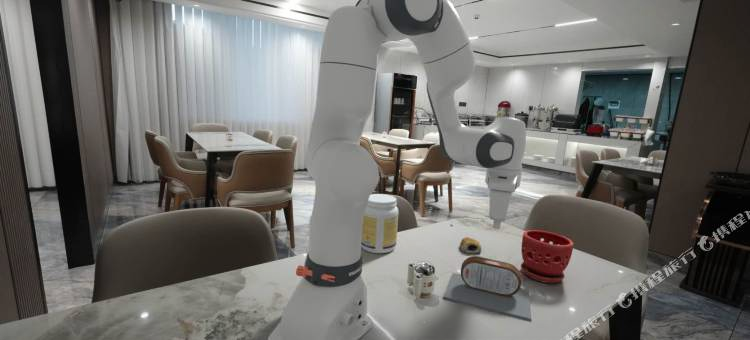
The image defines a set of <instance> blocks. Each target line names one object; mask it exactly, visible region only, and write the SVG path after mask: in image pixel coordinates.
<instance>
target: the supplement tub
mask: <svg viewBox="0 0 750 340" xmlns="http://www.w3.org/2000/svg"><path fill="white" fill-rule="evenodd" d="M397 204H398V201H397V198H396V197H395V196H393V195H390V194H384V193H383V194H382V193H372V194H371V195H370V196H369V200H368V203H367V207H366V211H365V214H364V219H363V225H362V241H361V249H363V250H364V251H366V252H368V253H372V254H386V253H390V252H392V251H394V250H395V249H396V247H397V239H398V228H399V227H398V225H399V223H398V222H399V214H400V213H399V208H398V207H397Z"/></svg>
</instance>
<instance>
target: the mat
mask: <svg viewBox="0 0 750 340" xmlns="http://www.w3.org/2000/svg"><path fill="white" fill-rule="evenodd" d="M450 276H451V277H450V279H449V282H448V284H447V286H446V288H445V292H444V294H443V299H444V300H448V301H453V302H456V303H460V304H464V305H468V306H471V307H475V308H479V309H484V310H487V311H491V312H495V313H498V314H503V315H506V316H511V317H515V318H518V319H523V320H526V321H530V322H531V321H532V311H531V299H530V290H529V289H526V288H522V287H521V288H520V290H519V291H518V292H517V293H516V294H514V295H512V296H501V295H497V294H493V293H489V292H485V291H481V290H477V289H473V288H471V287H469V286H468V285H466V284H465V283H464V281H463V280H462V278H461V273H456V272H452V274H451V275H450Z"/></svg>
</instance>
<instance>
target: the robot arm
mask: <svg viewBox="0 0 750 340" xmlns="http://www.w3.org/2000/svg"><path fill="white" fill-rule="evenodd" d="M406 39H409V41H411V43H412V44H413V45H414V46H415V48H416V50H417V54H418V56H419V59H420V61H421V65H422V66H423V69H424V72H425V76H426V80H427V81H426V93H427V97H428V100H429V104H430V107H431V111H432V114H433V117H434V120H435V126H436V127H437V131H438V137H439V150H440V152H441V155H442V157H443V158H444V159H445V160H446V161H448V162H451V163H456V164H464V165H467V166H471V167H477V168H482V169H486V171H485V178H484V183H486V185H487V189H488V190H489V200H488V201H489V203H488V204H489V207H488V209H489V210H488V211H489V213H488V215H489V220H491V221H493V223H492V224H493V225H492V228H493V229H496V230H500V229H501V223H502V222H505V221H506V218H507V215H508V211H509V208H510V204H511V200H512V195H513V193H515V192H516V189H518V188H519V187H520V186H521V178H522V173H523V165H522V164H523V163H522V160H523V157H524V155H525V151H526V141H527V127H526V123H525V121H523V120H522V119H519V118H517V117H511V116H505V115H504V116H503V115H502V116H501V115H500V116H497V117H495V118H494V121H492V123H490V124H488V125H487V126H484V127H482V128H473V127H468V126H466V125H464V124H463V123H462V122H461V120H460V117H459V113H458V110H457V105H456V101H455V92H456V91H457V90H459V89H460V88H462V87H463V86H464V85H466V83H467V82H468V81H469V80H470V79H471V77H472V76H473V74H474V71H475V69H476V57H475V53H474V50H473V47H472V44H471V42H470V38H469V35H468V33H467V30H466V28H465V26H464V24H463V21H462V20H461V17H460V15H459V14H458V11H457V10H456V8H455V7H454V5H453V3H452V2H451V1H450V0H358V1H357V2H356V4H355V5H346V6H345V5H344V6H341V7H338V8H336V9H335V10H334V11H332V12H331V14H330V16H329V17H328V20H327V24H326V27H325V32H324V35H323V39H322V40H323V41H322V44H321V51H320V60H319V68H318V80H317V90H316V91H317V92H316V102H315V108H314V109H315V110H314V114H313V119H312V122H311V127H310V132H309V138H308V139H309V140H308V145H307V151H306V155H305V165H306V166H305V167H306V170H307V172H308V174H309V175H310V176H311V178H312V179H313V180H314V184H315V193H314V199H313V200H314V201H313V206H312V211H311V216H310V217H309V221H308V223H309V224H308V227H309V229H308V253H307V254H306V258H305V261H304V265H298V266H297V267H296V269H295V275H296V276H298V277H301V279H300V281H299V282H298V284H297V285H296V287H295V289H294V290H293V292H292V294H291V296H290V298H289V300H288V302H287V303H286V305H285V307H284V308H283V310H282V315H281V320H280V321H279V323H278V324H277V325H276V326H275V328H274V329H273V330H272V332H271V333H270V335H269V336H268V338H267V340H360V338H362V336H364V335H365V334H366V333H367V332H369V330H370V329H372V328H373V319H372V318H371V316H369V315H368V289H367V285H366V284H365V282H364V279H363V277H362V275H361V274H362V272H363V265H364V261H363V254H362V253H361V252H362V247H361V241H362V225H363V219H364V214H365V211H366V207H367V203H368V200H369V196H370V195H371V194H374V192H375V190H376V188H377V186H378V183H379V180H380V179H379V177H380V171H379V167H378V164H377V163H376V160H375V159H374V157H373V156H372V155H371V154H370V153H369V151H368V150H367V149H366V148H364V147H363V146H361V145H360V143H361V139H362V136H363V133H364V129H365V126H366V124H367V121H368V119H369V117H370V116H371V114H372V111H373V107H374V105H373V104H374V96H375V95H374V94H375V87H376V79H377V70H378V69H377V68H378V57H379V56H378V55H379V52H380V50H381V46H382V44H384V43H387V42H389V43H390V42H399V41H402V40H406Z"/></svg>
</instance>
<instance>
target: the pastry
mask: <svg viewBox="0 0 750 340" xmlns="http://www.w3.org/2000/svg"><path fill="white" fill-rule="evenodd" d="M460 246H461V251H462V252H464V253H467V254H479V253H481V251H482V246H481V244H480V242H479V241H478V240H477V239H475V238H471V237H467V236H466V237H463V238H462V239H461V241H460Z"/></svg>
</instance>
